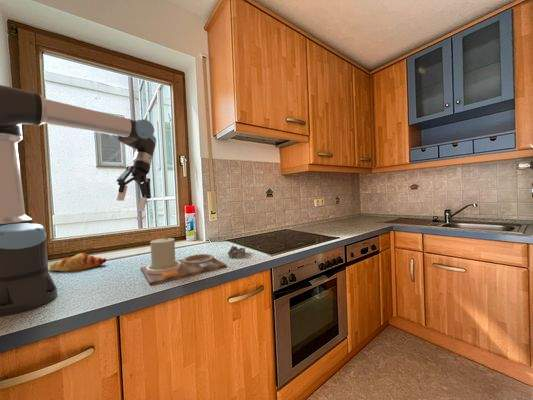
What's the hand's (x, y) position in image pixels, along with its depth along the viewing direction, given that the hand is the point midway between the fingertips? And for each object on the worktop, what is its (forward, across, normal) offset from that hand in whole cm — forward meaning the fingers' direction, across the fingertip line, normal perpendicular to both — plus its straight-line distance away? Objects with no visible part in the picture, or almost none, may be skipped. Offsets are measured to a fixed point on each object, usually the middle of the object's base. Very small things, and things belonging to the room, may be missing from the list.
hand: (131, 205), depth 103 cm
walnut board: (+25, +7, -25) cm, 37 cm away
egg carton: (+18, +26, -43) cm, 53 cm away
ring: (+27, +2, -20) cm, 34 cm away
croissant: (+27, +7, +23) cm, 36 cm away
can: (+26, +4, -19) cm, 32 cm away
